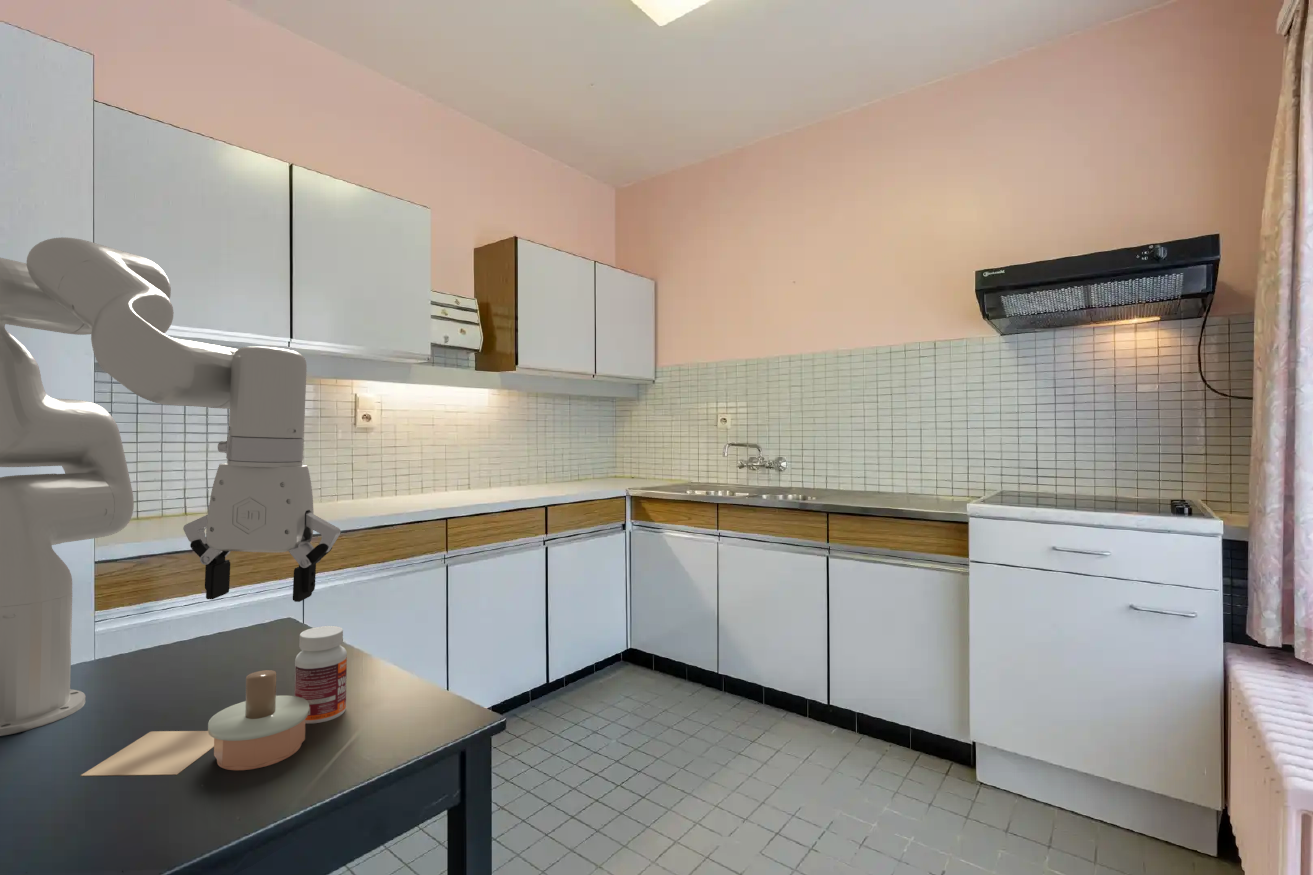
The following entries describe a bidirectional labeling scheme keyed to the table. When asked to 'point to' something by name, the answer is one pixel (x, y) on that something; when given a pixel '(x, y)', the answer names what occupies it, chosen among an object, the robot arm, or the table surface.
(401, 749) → the table surface
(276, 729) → the lid
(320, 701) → the pill bottle
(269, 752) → the bowl
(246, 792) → the table surface
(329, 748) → the table surface
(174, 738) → the mat
